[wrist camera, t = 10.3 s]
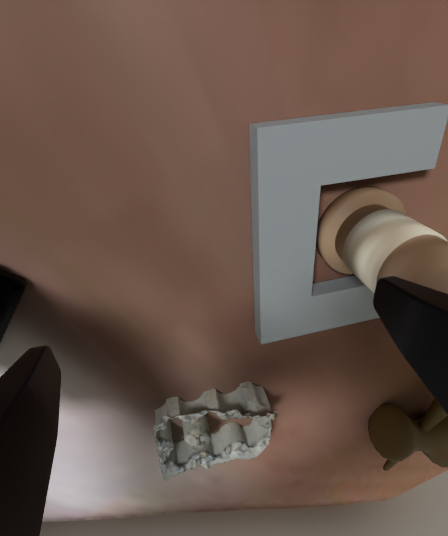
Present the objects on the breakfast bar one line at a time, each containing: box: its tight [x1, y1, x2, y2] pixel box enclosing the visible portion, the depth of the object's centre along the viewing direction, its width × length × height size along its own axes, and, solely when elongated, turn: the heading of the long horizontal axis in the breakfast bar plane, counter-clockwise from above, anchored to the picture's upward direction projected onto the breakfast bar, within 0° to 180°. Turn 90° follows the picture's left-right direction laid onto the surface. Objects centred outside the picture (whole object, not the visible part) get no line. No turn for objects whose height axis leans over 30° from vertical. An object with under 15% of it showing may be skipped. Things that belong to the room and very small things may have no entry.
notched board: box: [249, 102, 448, 344], centre depth 24 cm, size 12×16×2 cm
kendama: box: [368, 399, 448, 471], centre depth 37 cm, size 6×10×20 cm
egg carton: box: [153, 382, 277, 481], centre depth 30 cm, size 11×8×4 cm
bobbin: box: [316, 186, 448, 294], centre depth 19 cm, size 6×6×13 cm
